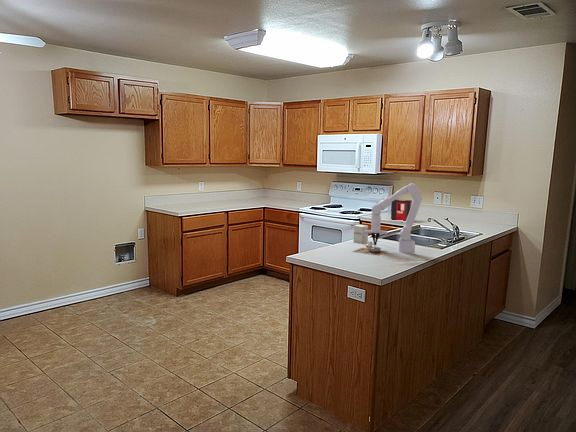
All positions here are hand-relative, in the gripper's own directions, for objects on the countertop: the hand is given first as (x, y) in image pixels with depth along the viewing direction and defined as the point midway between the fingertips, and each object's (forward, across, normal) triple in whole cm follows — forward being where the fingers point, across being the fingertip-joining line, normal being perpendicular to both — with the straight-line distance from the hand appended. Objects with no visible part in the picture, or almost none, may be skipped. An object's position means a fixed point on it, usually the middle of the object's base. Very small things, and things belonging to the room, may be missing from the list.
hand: (375, 244), depth 278 cm
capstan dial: (+3, -2, -3) cm, 5 cm away
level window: (+3, -9, -3) cm, 10 cm away
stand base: (+4, -3, -5) cm, 7 cm away
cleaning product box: (+5, +24, +137) cm, 139 cm away
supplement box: (+5, -10, +26) cm, 28 cm away
